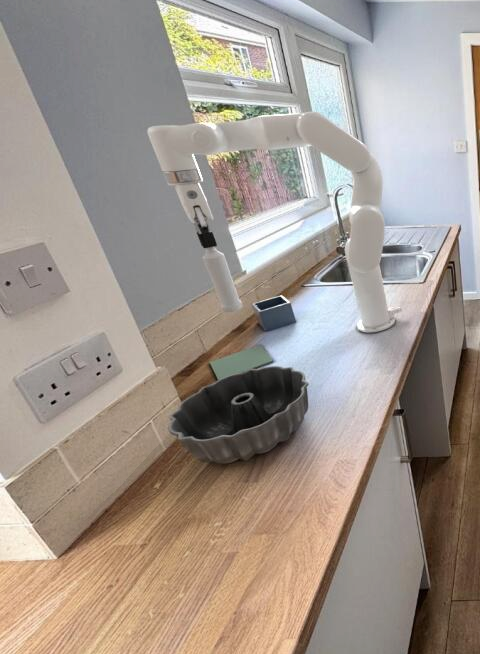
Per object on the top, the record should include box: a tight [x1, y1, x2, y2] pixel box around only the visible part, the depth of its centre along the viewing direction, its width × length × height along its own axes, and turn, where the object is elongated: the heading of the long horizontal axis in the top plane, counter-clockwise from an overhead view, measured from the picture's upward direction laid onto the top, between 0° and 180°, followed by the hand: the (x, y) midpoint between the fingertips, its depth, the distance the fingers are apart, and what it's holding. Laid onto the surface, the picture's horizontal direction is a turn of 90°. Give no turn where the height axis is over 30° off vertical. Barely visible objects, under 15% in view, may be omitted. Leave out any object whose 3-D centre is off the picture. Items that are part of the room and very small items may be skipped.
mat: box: [209, 344, 274, 381], centre depth 122 cm, size 14×14×1 cm
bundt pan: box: [167, 365, 310, 464], centre depth 91 cm, size 26×26×10 cm
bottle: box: [201, 247, 243, 313], centre depth 115 cm, size 5×5×25 cm
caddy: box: [251, 295, 297, 332], centre depth 145 cm, size 10×10×8 cm
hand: (209, 245), depth 112 cm, fingers closed on bottle, 2 cm apart
